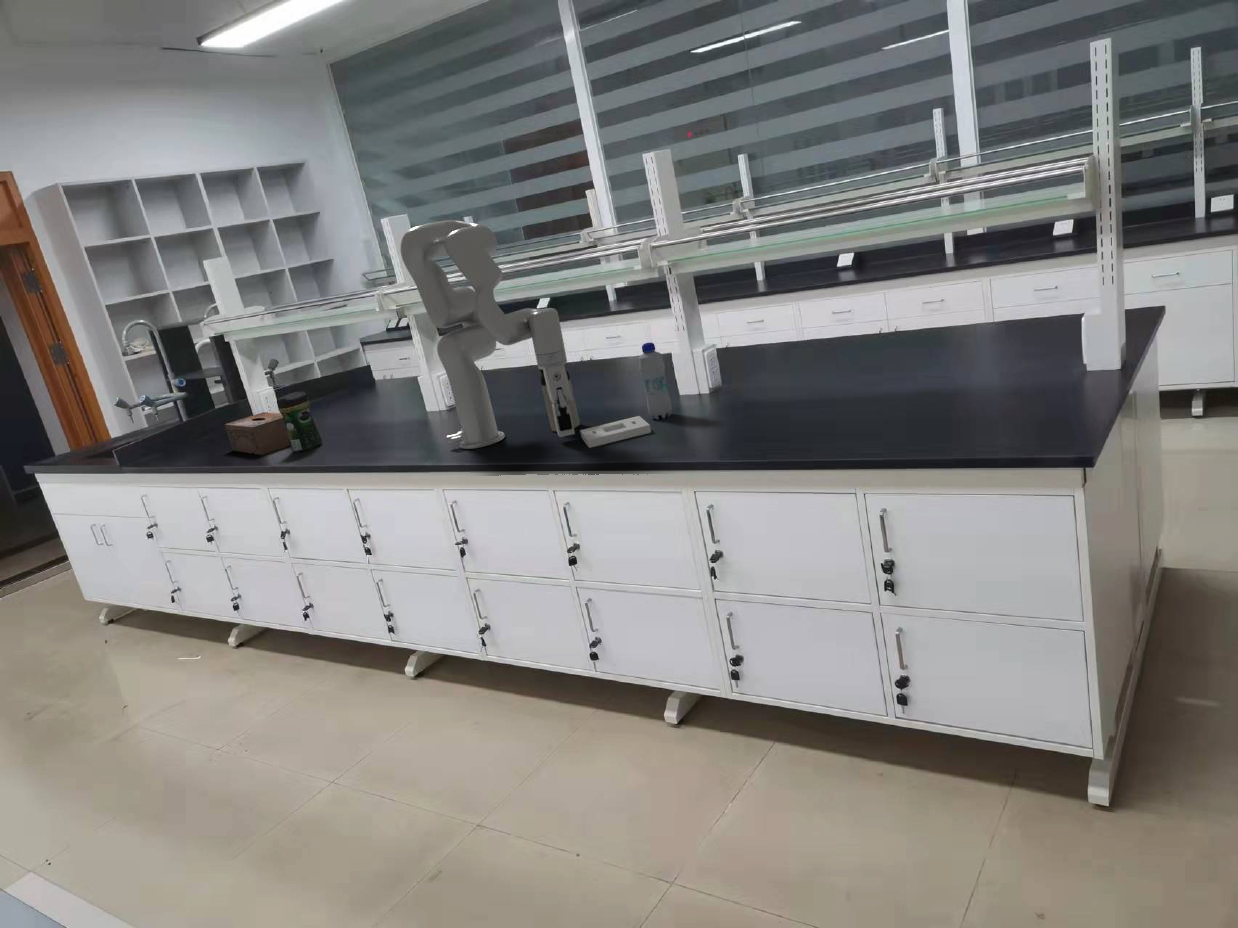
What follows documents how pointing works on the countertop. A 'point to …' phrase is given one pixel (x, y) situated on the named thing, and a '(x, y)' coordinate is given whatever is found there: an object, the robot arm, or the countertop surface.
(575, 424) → the travel mug
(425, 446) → the countertop surface
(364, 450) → the countertop surface
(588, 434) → the outlet plate
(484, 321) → the robot arm
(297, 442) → the coffee jar
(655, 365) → the bottle
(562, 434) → the charger
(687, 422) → the countertop surface
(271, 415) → the tissue box cover
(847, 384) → the countertop surface
